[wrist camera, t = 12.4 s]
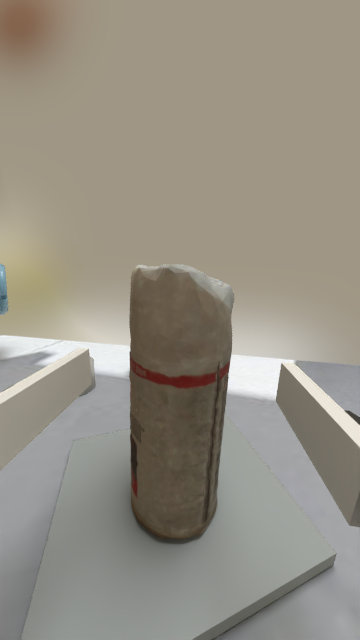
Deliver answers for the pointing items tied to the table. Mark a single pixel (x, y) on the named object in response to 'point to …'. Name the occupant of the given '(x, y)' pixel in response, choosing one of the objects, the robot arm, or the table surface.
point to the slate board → (167, 552)
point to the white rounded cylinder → (91, 378)
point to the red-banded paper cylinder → (177, 396)
